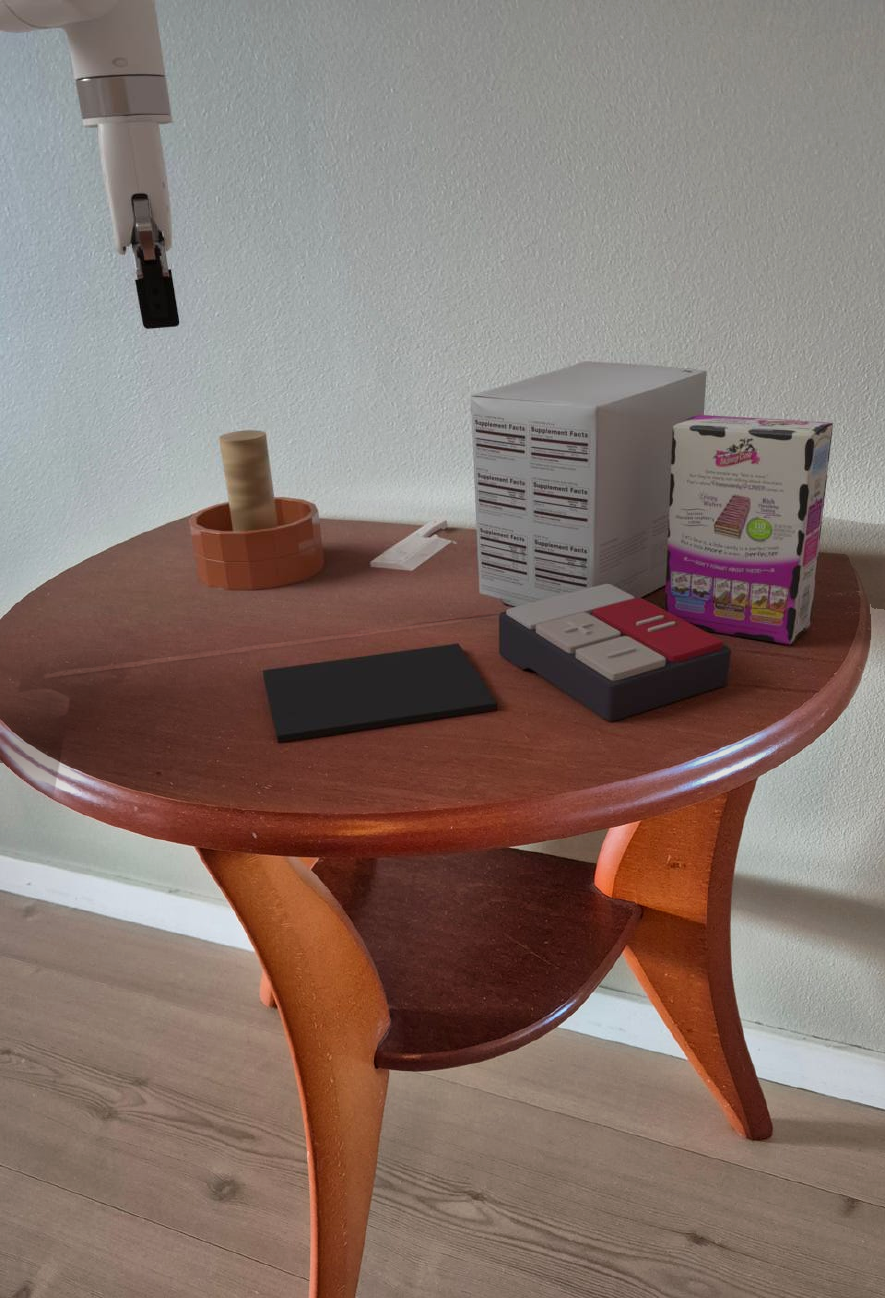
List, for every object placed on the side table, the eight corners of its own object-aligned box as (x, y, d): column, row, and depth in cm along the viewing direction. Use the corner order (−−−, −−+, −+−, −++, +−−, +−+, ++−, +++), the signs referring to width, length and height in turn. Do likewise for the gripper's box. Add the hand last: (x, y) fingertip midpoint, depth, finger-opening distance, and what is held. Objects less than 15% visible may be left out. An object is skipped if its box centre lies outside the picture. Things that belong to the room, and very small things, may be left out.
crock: (201, 601, 103) (190, 539, 100) (197, 562, 113) (187, 505, 110) (331, 585, 105) (325, 523, 102) (315, 548, 115) (309, 491, 112)
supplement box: (582, 548, 110) (584, 359, 101) (698, 571, 103) (711, 368, 94) (472, 598, 99) (464, 391, 90) (593, 628, 92) (597, 404, 83)
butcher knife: (475, 530, 117) (475, 520, 117) (415, 575, 106) (414, 564, 105) (433, 526, 119) (432, 516, 119) (369, 570, 108) (368, 559, 107)
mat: (277, 743, 76) (276, 735, 76) (263, 676, 86) (262, 669, 86) (497, 710, 79) (497, 702, 79) (458, 649, 89) (458, 642, 89)
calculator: (612, 676, 74) (496, 603, 85) (609, 731, 76) (496, 653, 88) (735, 639, 78) (609, 574, 90) (728, 692, 81) (607, 623, 92)
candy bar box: (812, 626, 89) (837, 420, 81) (791, 647, 86) (815, 434, 78) (685, 605, 95) (696, 410, 87) (660, 624, 92) (670, 423, 83)
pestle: (240, 578, 106) (220, 442, 100) (237, 564, 110) (217, 433, 104) (285, 572, 107) (267, 437, 101) (281, 559, 111) (263, 428, 104)
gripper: (86, 113, 100) (123, 315, 108) (73, 101, 85) (117, 336, 93) (169, 108, 101) (199, 308, 109) (171, 96, 86) (205, 328, 95)
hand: (161, 321), depth 101 cm, fingers open, 9 cm apart
